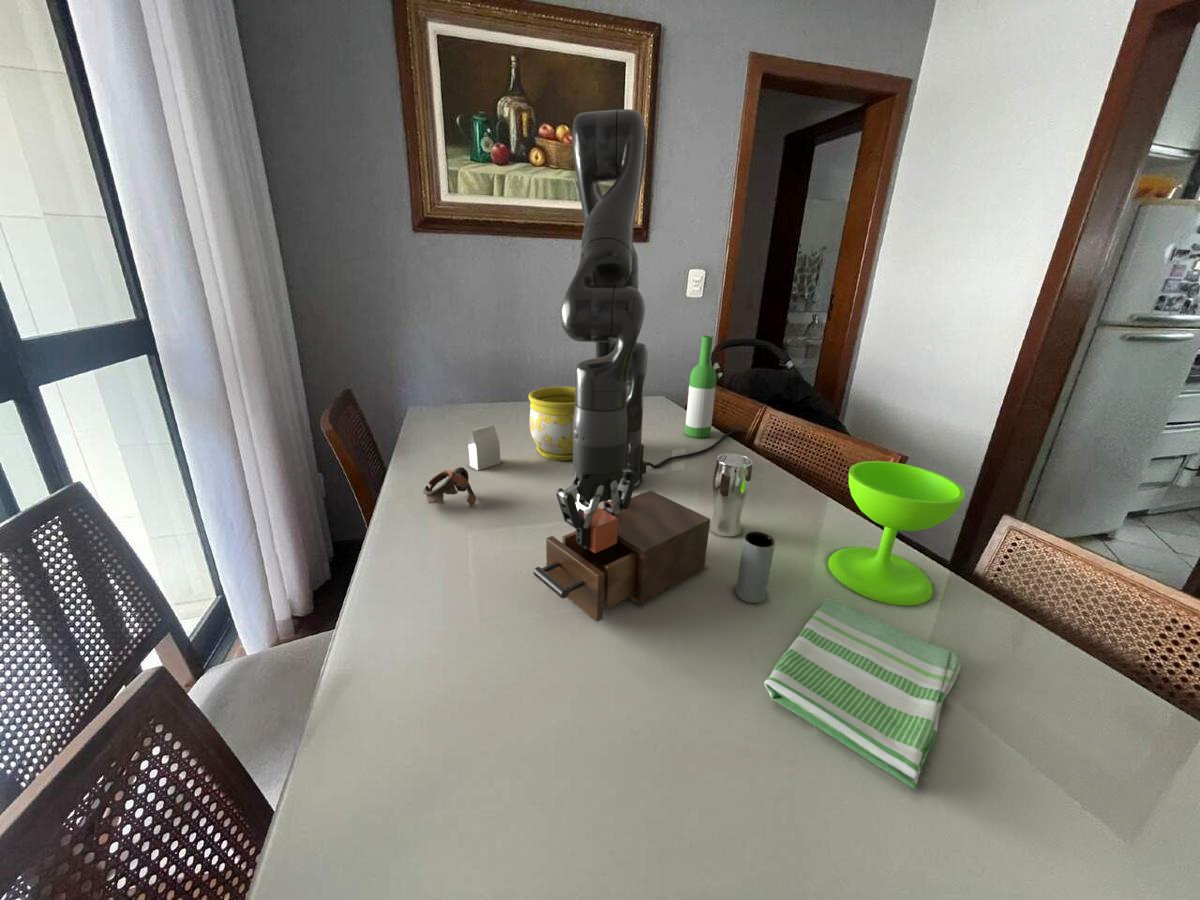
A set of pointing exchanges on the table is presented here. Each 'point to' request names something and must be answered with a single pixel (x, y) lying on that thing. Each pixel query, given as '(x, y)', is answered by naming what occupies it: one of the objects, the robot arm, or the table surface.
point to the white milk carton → (484, 447)
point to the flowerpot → (553, 421)
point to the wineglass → (894, 528)
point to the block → (603, 530)
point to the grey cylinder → (755, 566)
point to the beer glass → (730, 493)
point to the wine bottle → (701, 394)
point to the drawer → (590, 574)
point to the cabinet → (662, 542)
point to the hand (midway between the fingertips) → (596, 540)
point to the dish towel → (867, 686)
